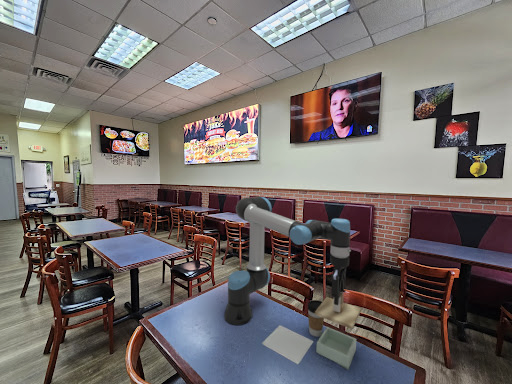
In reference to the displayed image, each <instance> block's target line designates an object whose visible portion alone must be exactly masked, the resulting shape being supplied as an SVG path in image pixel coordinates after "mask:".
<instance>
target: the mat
mask: <svg viewBox="0 0 512 384" xmlns="http://www.w3.org/2000/svg"><path fill="white" fill-rule="evenodd" d="M261 344H262V345H263V346H265V347H267V348H268V349H270V350H272V351H274V352H276V353H277V354H279V355H281V356H283V357H284V358H286V359H288V360H289V361H290V362H293V363H294V364H296V365H299V363H300V362H301V361H302V360H303V358H304V356H305V355H306V353H307V352H308V351H309V349H310V348H311V346H312V344H314V340H312V339H310V338H308V337H306V336H303V335H301V334H299V333H298V332H295V331H293V330H290V329H289V328H287V327H284V326H283V325H281V324H280V325H278V326H277V327H276V328H275V329H274V330H273V332H271V334H269V336H267V337H266V338H265V340H263V342H261Z"/></svg>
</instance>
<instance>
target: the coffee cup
mask: <svg viewBox="0 0 512 384" xmlns="http://www.w3.org/2000/svg"><path fill="white" fill-rule="evenodd" d="M322 302H323V301H321V300H318V299H317V300H316V299H314V300H309V301H308V302H307V305H306V306H307V310H308V311H307V317H308V319H307V320H308V332H309V334H310V335H311V336H313V337H317V338H318V337H319V338H320V337H321V335H322V334H323V328H324V322H325V321H324V320H325V318H322V317H320V316H317V315H315V311H316V310H317V308H318V307H319V306H320V305H321V304H322Z"/></svg>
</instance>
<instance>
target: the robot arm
mask: <svg viewBox="0 0 512 384" xmlns="http://www.w3.org/2000/svg"><path fill="white" fill-rule="evenodd" d="M272 207H273V206H272V204H271V202H270V200H269V199H267V198H266V197H264V196H263V197H262V196H253V197H251V196H250V197H243V198H241V199H239V200H238V202H237V203H236V205H235V213H236V215H237V216H238V218H240V219H241V220H243V221H245V222H248V223H249V253H248V254H249V256H248V257H249V258H248V260H249V261H248V262H249V263H247V265H246V270H244V269H241V270H235V271H233V272H232V273H230V274H229V276H228V280H227V305H226V307H225V310H224V320H225V321H226V323H228V324H230V325H234V326H243V325H246V324H248V323H249V322H251V321H252V318H253V310H252V308H251V304H250V295H251V294H253V293H255V292H257V291H259V290H261V289H264V288H265V287H266V286H267V285H268V284H269V283H270V280H271V274H270V271H269V269H268V268H267V265H266V264H265V228H266V229H269V230H271V231H274V232H277V233H278V234H282V235H284V236H286V237H288V238H290V240H291V241H292V242H293V243H294V244H295V245H298V246H300V245H306V244H308V243H311V242H313V241H315V240H318V239H324V240H330V259H329V261H330V264H331V265H333V266H334V268H333V269H332V274H331V297H333V298H332V299H333V311H336V312H339V313H340V302H341V297H340V293H342V294H343V295H344V293H346V290H345V289H346V275H347V274H346V273H347V267H349V266H350V253H351V252H352V250H351V249H350V245H351V242H350V241H351V222H350V220H348V219H345V218H332V219H331V221H330V222H327V221H322V220H317V219H308V220H306V222H305V223H302V222H300V221H297V220H294V219H292V218H288V217H285V216H283V215H280V214H278V213H274V212H272V209H273V208H272Z"/></svg>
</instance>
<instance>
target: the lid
mask: <svg viewBox="0 0 512 384" xmlns="http://www.w3.org/2000/svg"><path fill="white" fill-rule="evenodd" d="M340 297H341V302H340V313H339V312H336V311H333V298H331V297H328V296H326V297H325V298H324V300H323V301H322V304H321V305H320V306H319V307H318V308H317V310H316V311H315V315H317V316H320V317H322V318H324V320H327V321H330V322H333V323H335V324H337V325H340V326H343V327H346V328H348V329H351V330H353V329H354V326H355V324H356V323H357V320H358V318H359V316H360V314H361V312H362V309H361V307H359V306H354V305H352V304H349V303H346V302H344V293H343V294H342V293H340Z"/></svg>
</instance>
